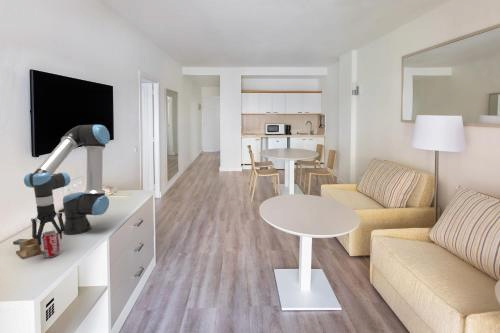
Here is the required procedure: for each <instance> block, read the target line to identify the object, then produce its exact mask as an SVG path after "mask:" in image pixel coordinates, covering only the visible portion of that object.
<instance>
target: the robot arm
mask: <svg viewBox="0 0 500 333" xmlns="http://www.w3.org/2000/svg"><path fill="white" fill-rule="evenodd" d="M110 137H111V135H110V132H109V130H108V129H107V127H106V126H105V125H102V124H81V125H77V126H75V127H73V128H71V129H69V131H67V132H66V133H65V134H64V135H63V136H62V137H61V138H60V142H59V143H58V145H56V147H55V148H54V149H53V150H52V151H51V153H49V155H48V156H47V157H46V158H45V159H44V160H43V162H42V163H41V164H40V165H39V167H38V168H36V169H35V171H34V172H31V173H27V174H26V175H25V176H24V178H23V183H24V185H25V186H26V187H27V188H33V191H34V197H35V204H36V205H37V206H36V211H37V212H36V213H37V215H36V216H35V217H33V218H31V219H30V222H31V226H32V227H31V238H34V239H37V242H38V245H40V247H41V250H42V251H44V244H43V238H42V236H43V233H44V227H45V224H47V223H51V225H52V226H53V227H54V228H55V230H56V234H57V236H58V242H59V247H62V243H61V240H62V239H63V237H62V236H63V235H62V234H64V235H78V234H83V233H86V232H88V231H89V230H91V229H92V225H91V223H90V220H89V219H88V217H87V216H102V215H104V214H105V213H107V211H108V209H109V206H110V200H109V197H108V196H107V195H106V193H105V191H104V190H103V154H104V153H103V152H104V150H105V148H106V145H107V144H109V142H110V139H111V138H110ZM82 145H83V148H85V149H86V190H85V191H84V192H83V191H80V192H73V193H70V194H67V195H64V196H63V198H62V206H63V212H64V220H63V213H62V212H60V211H58V212H56V209H55V208H56V207H55V203H54V202H55V201H54V194H53V193H54V192H53V191H54V190H57V189H61V188H65V187H67V186H68V185H69V184H71V177H70V175H69V174H68V173H67V172H58V173H55V172H56V171H57V169H59V167H60V166H61V164H62V163H63V162H64V161H65V160H66V159H67V157H68V156H69V155H70V154H71V152H72V151H73V150H76V149H77V148H78V147H79V146H82ZM55 217H57V219H58V223H59V225H58V223H57V222H56V220H55ZM38 220H39V227H37V226H38V224H37V222H38ZM37 228H38V230H37Z"/></svg>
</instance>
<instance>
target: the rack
mask: <svg viewBox="0 0 500 333" xmlns="http://www.w3.org/2000/svg"><path fill="white" fill-rule="evenodd" d="M18 246H19V250H16V251H15V254H16V255H18V256H19V257H20V258H21V259H22V260H25V259H29V258H31V257H35V256H39V255H42V254H44V252H43V251H42V250H41V247H40V245H38V242H37V239H34V238H33V237H31V238H30V239H28V240H25V241H21V242H19V245H18Z"/></svg>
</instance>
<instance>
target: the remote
mask: <svg viewBox="0 0 500 333" xmlns="http://www.w3.org/2000/svg"><path fill="white" fill-rule="evenodd" d="M25 240H28V239H27V238H19V239H16V240H13V242H12V244H13V245H17V246H19V242H21V241H25Z"/></svg>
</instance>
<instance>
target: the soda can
mask: <svg viewBox="0 0 500 333" xmlns="http://www.w3.org/2000/svg"><path fill="white" fill-rule="evenodd" d="M56 233H57V231H55V230H50V231H45V232H42V235H41V238H43V244H44V251H43V252H44V253H43V255H44V257H46V258H50V259H51V258H54V257H56V256H58V255H59V254H60V246H59V242H58V236H57V234H56Z"/></svg>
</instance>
